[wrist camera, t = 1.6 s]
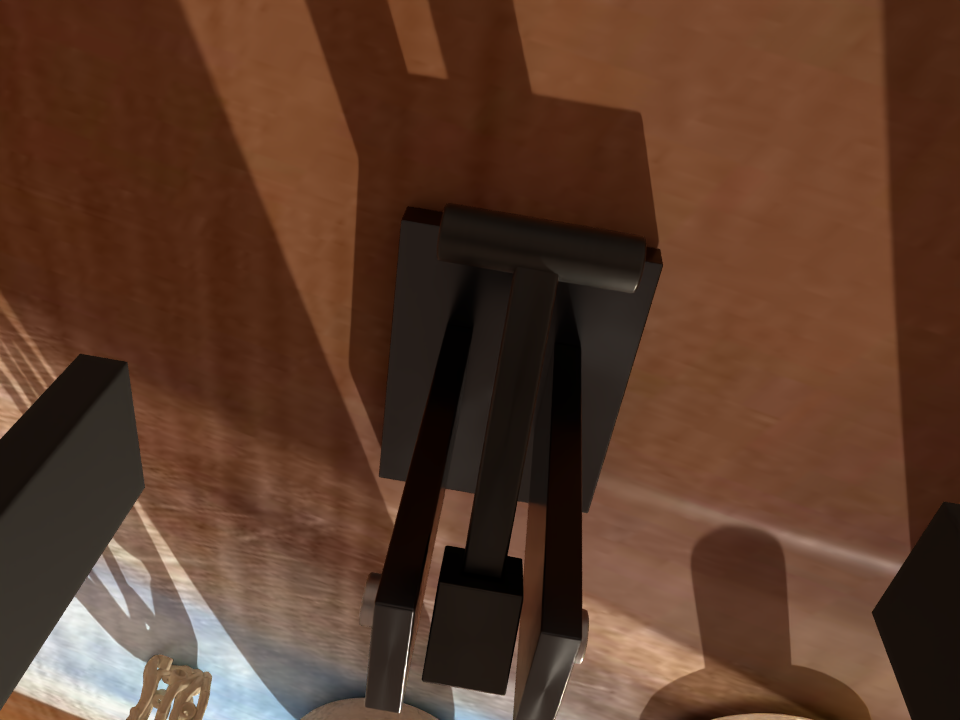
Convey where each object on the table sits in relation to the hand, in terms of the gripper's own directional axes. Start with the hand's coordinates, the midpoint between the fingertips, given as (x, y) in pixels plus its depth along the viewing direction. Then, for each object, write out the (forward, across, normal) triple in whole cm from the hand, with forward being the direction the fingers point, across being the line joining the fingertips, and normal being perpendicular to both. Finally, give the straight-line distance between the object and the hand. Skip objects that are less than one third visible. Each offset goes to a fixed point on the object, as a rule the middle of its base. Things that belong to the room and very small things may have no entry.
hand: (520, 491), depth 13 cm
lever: (+7, 0, -5) cm, 9 cm away
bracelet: (+16, -15, -34) cm, 40 cm away
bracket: (+16, 0, -9) cm, 18 cm away
